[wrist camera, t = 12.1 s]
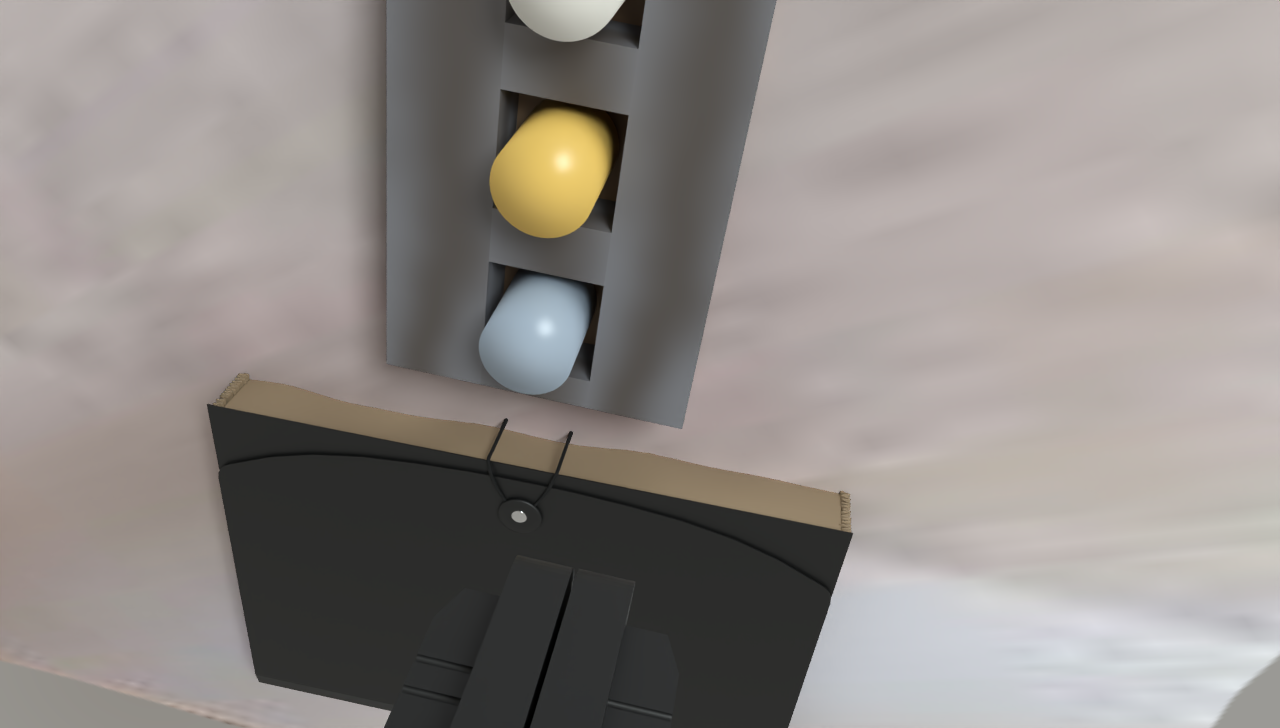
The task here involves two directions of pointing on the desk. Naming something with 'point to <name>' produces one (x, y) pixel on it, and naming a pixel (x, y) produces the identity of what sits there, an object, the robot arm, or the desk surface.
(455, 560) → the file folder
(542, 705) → the robot arm
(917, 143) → the desk surface
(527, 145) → the amber button
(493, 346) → the slate button
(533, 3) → the ivory button
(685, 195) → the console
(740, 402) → the desk surface
